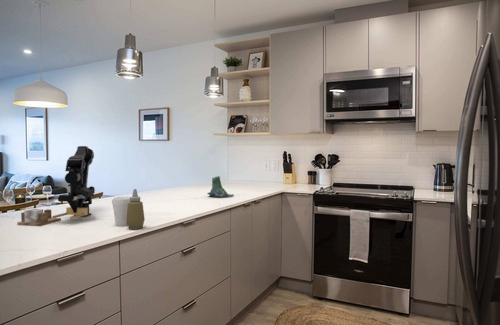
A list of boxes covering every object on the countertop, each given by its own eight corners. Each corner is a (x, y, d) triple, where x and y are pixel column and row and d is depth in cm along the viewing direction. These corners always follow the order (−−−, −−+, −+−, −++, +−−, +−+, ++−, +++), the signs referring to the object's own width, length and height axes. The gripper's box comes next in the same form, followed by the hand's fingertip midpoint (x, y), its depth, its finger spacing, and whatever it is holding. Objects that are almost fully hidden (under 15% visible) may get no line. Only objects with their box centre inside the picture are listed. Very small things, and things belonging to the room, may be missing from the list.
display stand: (61, 220, 171) (60, 206, 171) (39, 226, 159) (39, 211, 158) (39, 219, 174) (39, 205, 174) (17, 224, 161) (16, 210, 161)
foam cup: (112, 223, 164) (111, 197, 163) (132, 221, 168) (131, 196, 167) (112, 227, 155) (112, 199, 155) (133, 225, 159) (133, 198, 158)
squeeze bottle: (129, 226, 158) (128, 188, 157) (146, 225, 159) (145, 188, 158) (124, 230, 150) (123, 190, 149) (142, 230, 151) (141, 190, 150)
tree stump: (238, 197, 253) (233, 175, 250) (214, 206, 245) (209, 182, 241) (228, 193, 270) (224, 172, 266) (205, 201, 261) (200, 179, 257)
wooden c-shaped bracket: (87, 214, 171) (87, 207, 171) (71, 219, 161) (71, 211, 161) (69, 213, 174) (69, 207, 174) (52, 218, 163) (52, 210, 163)
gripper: (76, 184, 160) (77, 216, 161) (102, 180, 178) (102, 209, 179) (56, 183, 163) (57, 215, 163) (84, 180, 181) (84, 209, 181)
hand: (77, 212), depth 172 cm, fingers closed on wooden c-shaped bracket, 2 cm apart
